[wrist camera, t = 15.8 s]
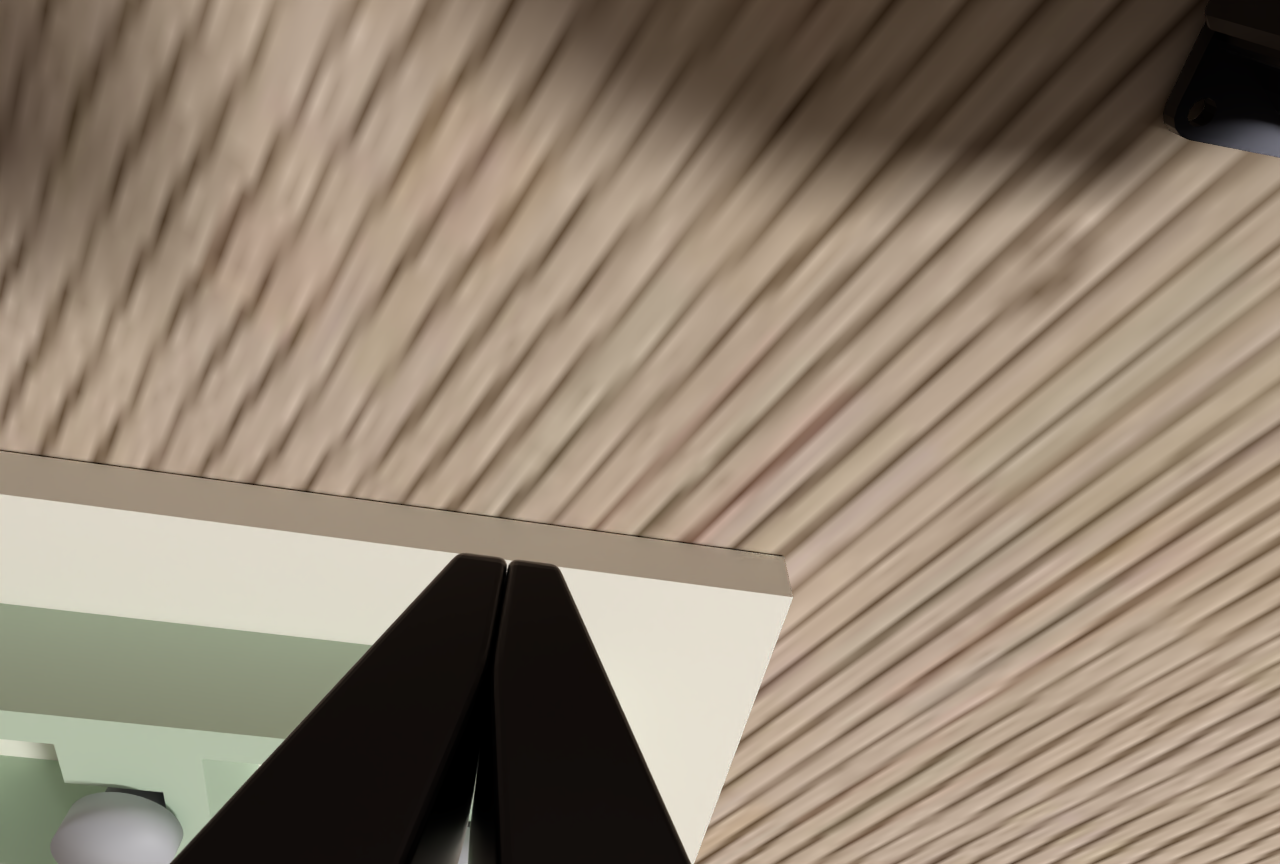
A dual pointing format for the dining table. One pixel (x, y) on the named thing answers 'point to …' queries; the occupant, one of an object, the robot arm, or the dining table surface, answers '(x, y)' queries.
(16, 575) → the board
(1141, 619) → the dining table surface
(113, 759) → the panel
